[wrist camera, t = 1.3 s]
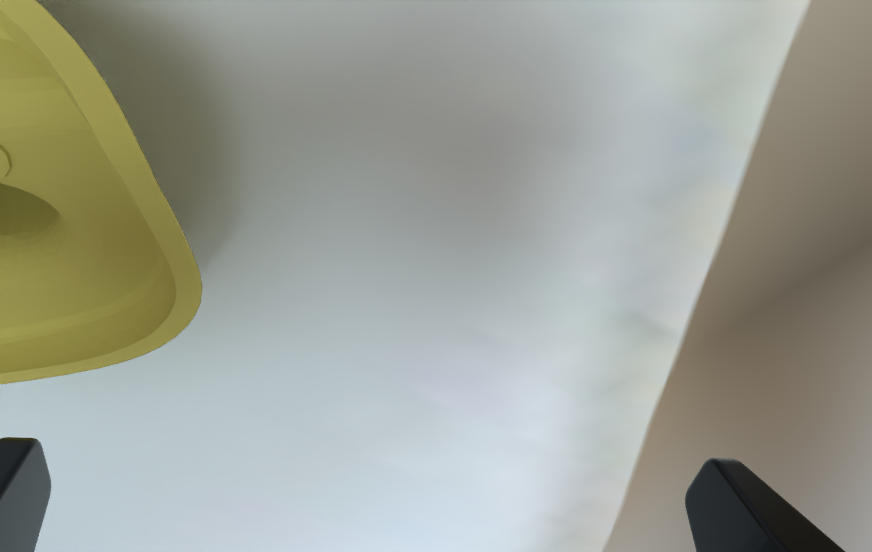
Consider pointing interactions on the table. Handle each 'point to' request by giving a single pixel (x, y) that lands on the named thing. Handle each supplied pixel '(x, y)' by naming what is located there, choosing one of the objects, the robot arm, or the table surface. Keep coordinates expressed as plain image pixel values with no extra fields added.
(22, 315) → the yellow long curved piece
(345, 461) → the table surface
